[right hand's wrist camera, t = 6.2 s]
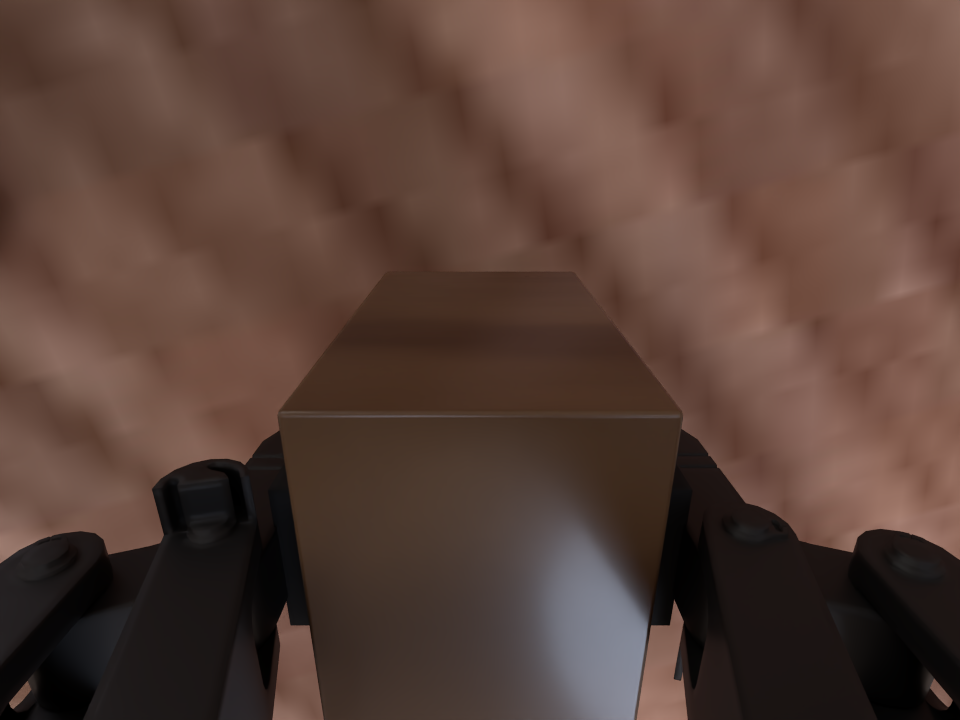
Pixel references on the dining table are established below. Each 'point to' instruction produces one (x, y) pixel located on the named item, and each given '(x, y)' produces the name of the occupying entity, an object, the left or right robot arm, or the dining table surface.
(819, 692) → the right robot arm
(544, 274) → the bar
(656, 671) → the dining table surface
